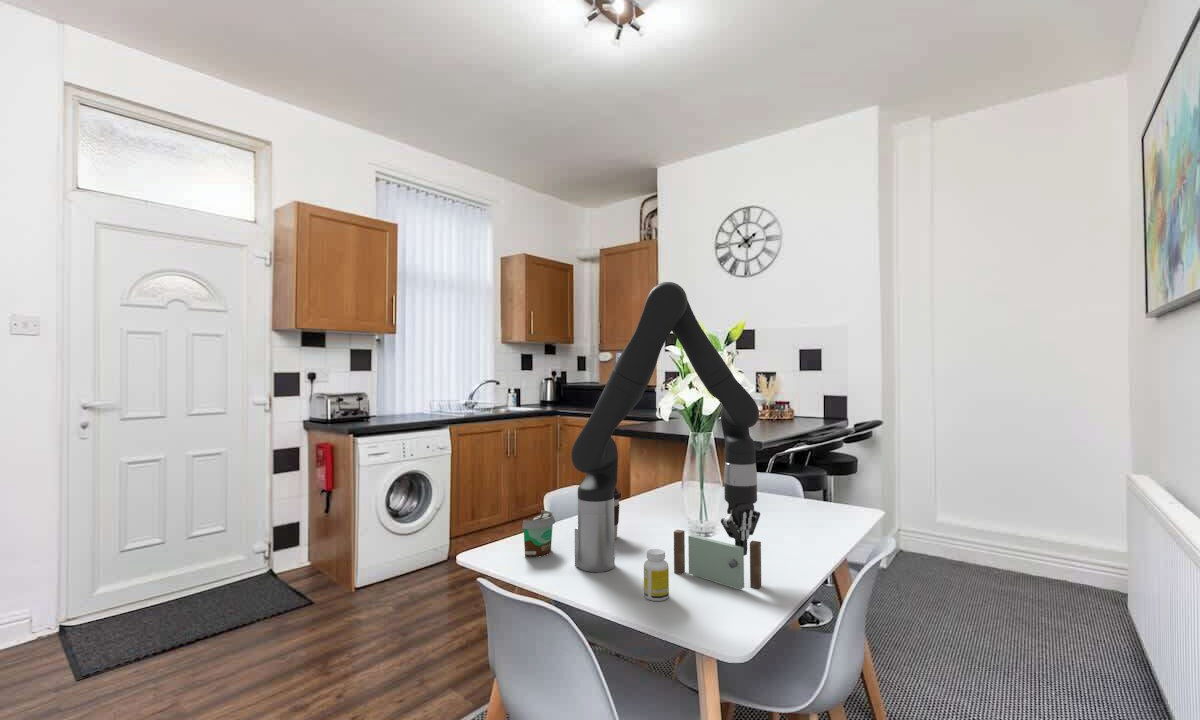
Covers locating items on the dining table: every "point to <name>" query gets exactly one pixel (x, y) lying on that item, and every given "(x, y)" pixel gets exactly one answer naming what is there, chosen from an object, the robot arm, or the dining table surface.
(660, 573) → the supplement bottle
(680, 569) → the door frame
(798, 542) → the dining table surface
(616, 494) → the coffee cup
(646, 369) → the robot arm
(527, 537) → the food container
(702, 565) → the door
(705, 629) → the dining table surface
